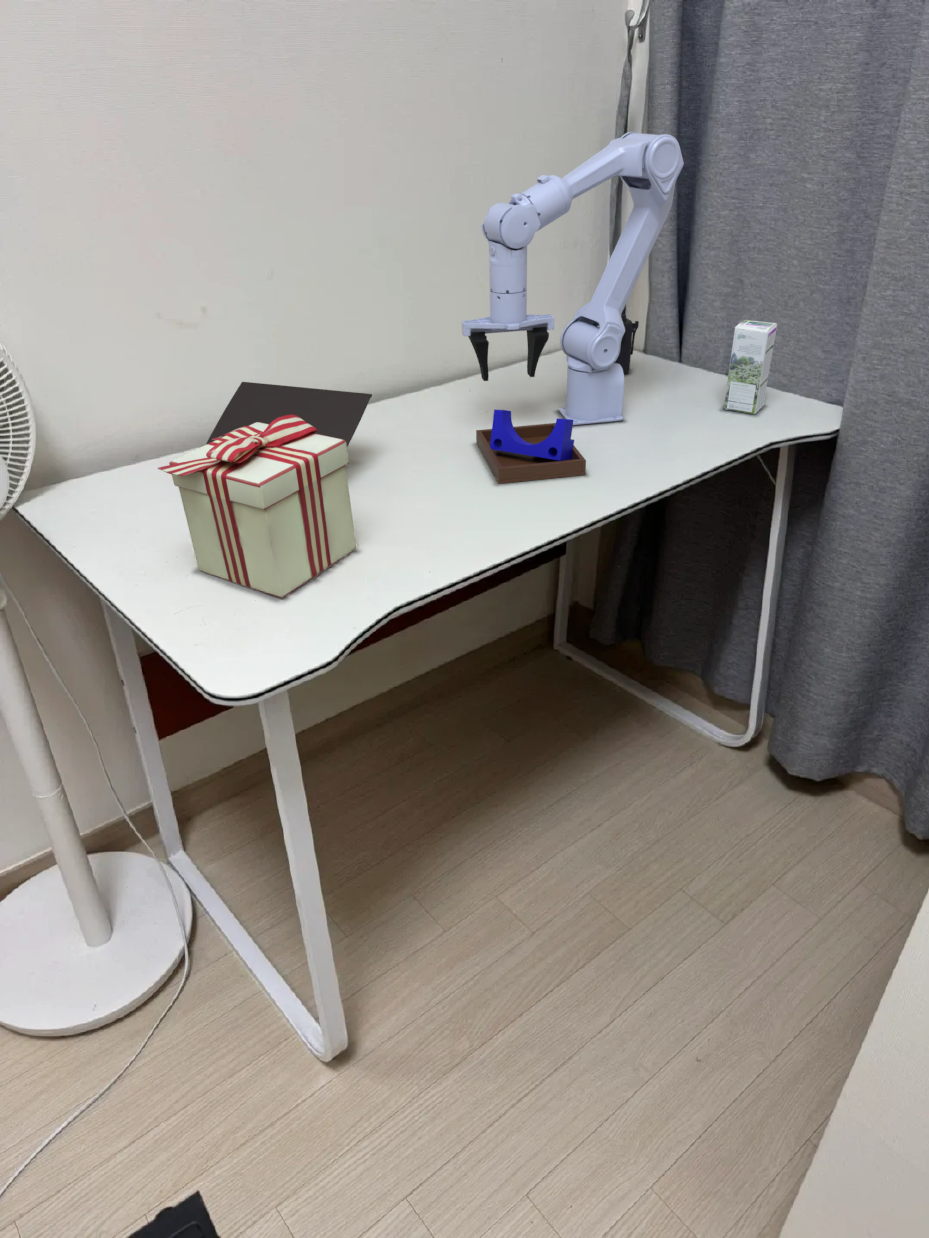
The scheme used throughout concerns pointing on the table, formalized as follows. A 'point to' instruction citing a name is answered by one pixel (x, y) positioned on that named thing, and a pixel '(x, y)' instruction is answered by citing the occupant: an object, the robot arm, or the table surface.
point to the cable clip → (550, 448)
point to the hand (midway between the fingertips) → (508, 377)
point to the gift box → (267, 504)
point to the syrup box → (749, 366)
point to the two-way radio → (627, 342)
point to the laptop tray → (294, 409)
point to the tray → (528, 458)
